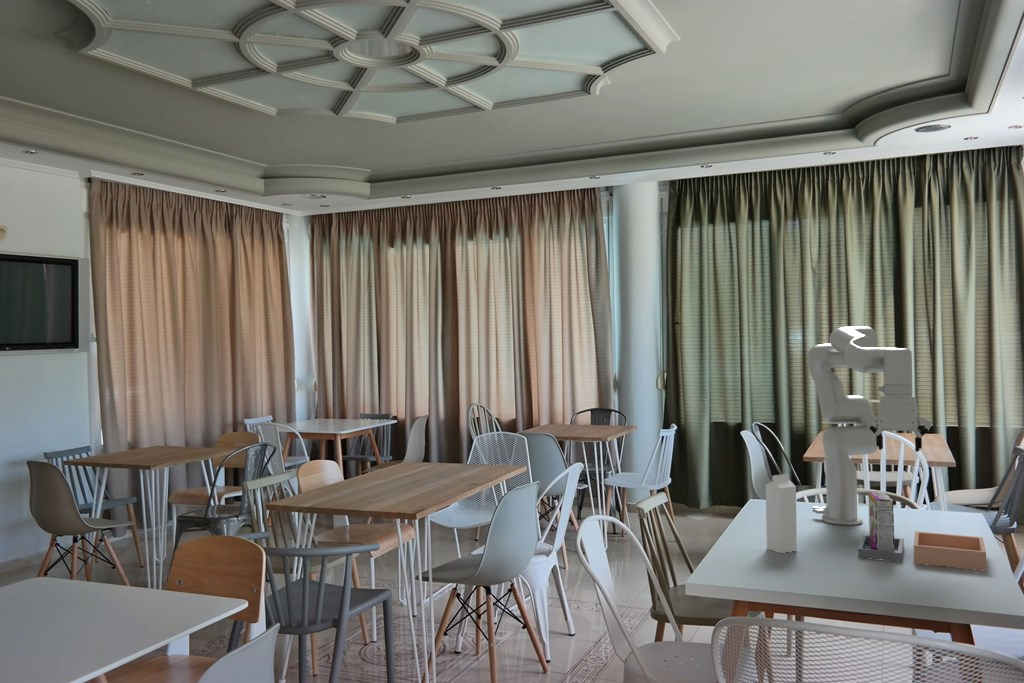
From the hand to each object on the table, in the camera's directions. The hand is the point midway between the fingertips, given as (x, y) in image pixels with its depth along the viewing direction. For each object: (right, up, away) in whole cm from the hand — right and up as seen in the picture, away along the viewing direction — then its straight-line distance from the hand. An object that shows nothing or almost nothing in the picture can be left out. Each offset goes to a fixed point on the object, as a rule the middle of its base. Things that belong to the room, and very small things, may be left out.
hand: (898, 450), depth 233 cm
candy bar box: (-6, -29, -2) cm, 30 cm away
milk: (-33, -30, +2) cm, 45 cm away
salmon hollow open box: (+9, -29, -10) cm, 32 cm away
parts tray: (-6, -29, -2) cm, 30 cm away
